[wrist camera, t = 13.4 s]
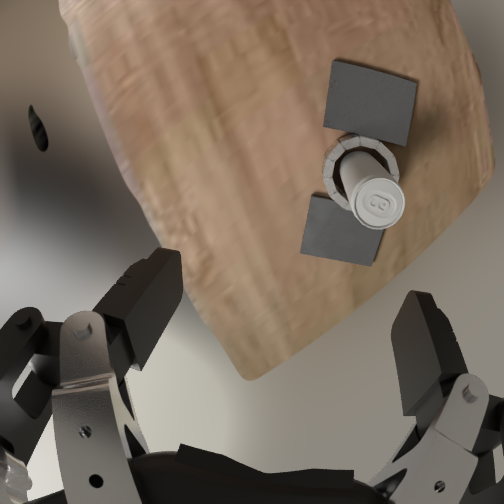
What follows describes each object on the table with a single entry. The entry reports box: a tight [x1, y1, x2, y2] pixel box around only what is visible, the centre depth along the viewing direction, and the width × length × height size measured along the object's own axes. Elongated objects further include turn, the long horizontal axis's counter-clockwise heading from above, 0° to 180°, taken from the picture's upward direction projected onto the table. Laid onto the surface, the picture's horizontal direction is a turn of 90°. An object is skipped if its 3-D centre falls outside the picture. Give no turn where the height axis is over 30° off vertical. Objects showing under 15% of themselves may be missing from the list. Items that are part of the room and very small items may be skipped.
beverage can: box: [339, 151, 405, 229], centre depth 27 cm, size 5×5×12 cm
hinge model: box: [300, 61, 417, 266], centre depth 31 cm, size 25×10×3 cm, turn 174°
